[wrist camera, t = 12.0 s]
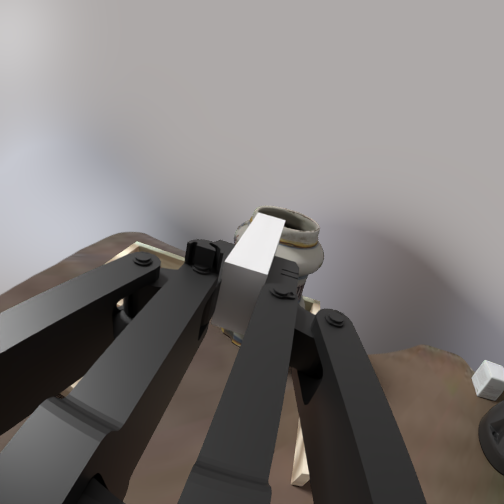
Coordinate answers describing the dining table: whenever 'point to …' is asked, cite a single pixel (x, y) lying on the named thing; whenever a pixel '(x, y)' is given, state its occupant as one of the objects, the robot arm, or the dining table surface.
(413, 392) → the dining table surface
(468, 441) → the dining table surface
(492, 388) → the small box
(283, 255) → the apothecary jar
